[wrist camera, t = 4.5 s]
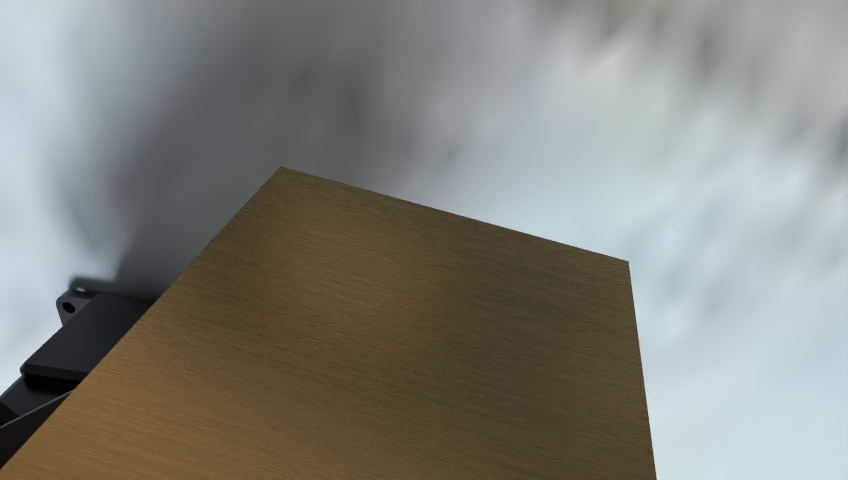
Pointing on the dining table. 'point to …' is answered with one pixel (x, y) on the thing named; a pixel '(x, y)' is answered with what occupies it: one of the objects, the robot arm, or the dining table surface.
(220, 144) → the dining table surface
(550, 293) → the beige square block
